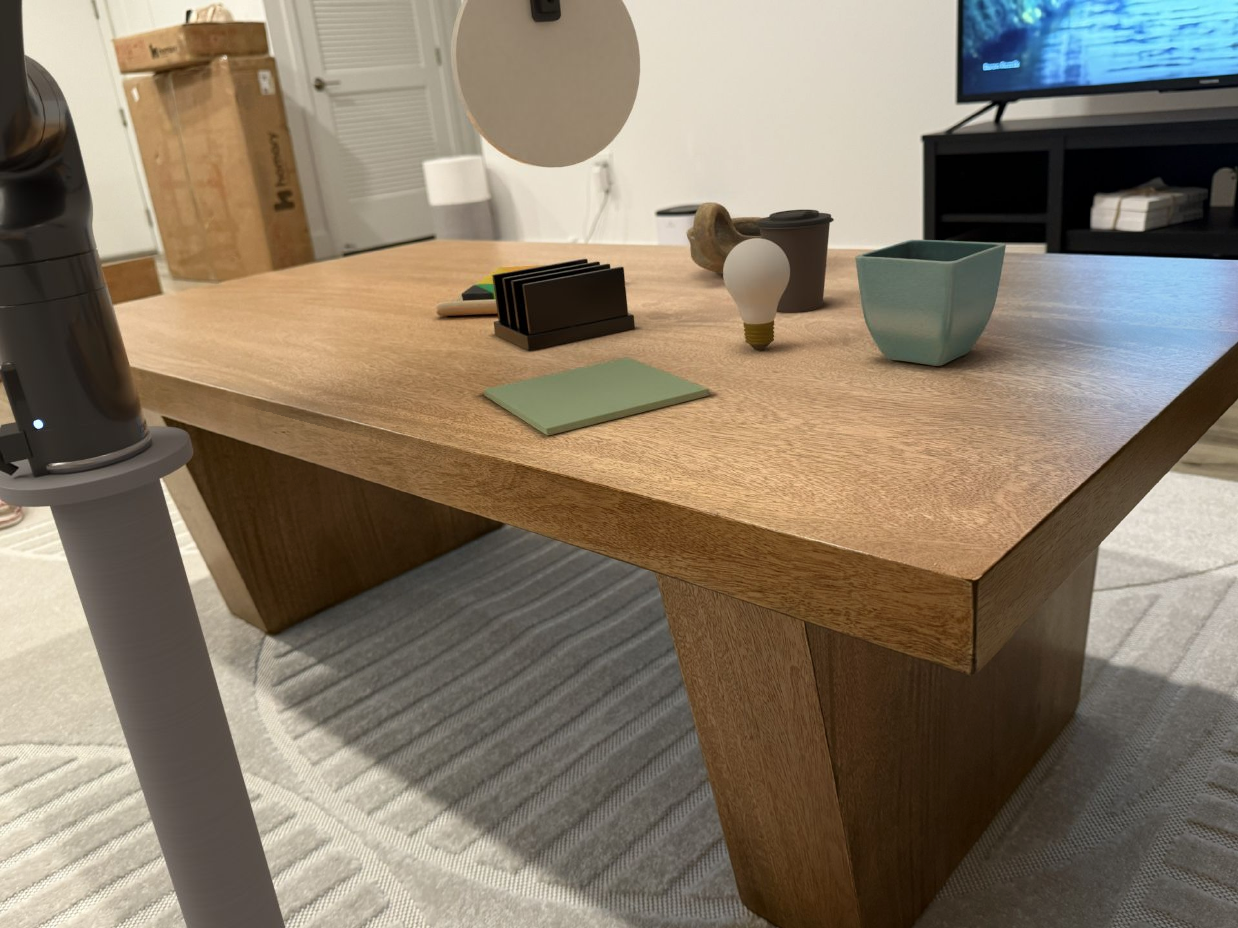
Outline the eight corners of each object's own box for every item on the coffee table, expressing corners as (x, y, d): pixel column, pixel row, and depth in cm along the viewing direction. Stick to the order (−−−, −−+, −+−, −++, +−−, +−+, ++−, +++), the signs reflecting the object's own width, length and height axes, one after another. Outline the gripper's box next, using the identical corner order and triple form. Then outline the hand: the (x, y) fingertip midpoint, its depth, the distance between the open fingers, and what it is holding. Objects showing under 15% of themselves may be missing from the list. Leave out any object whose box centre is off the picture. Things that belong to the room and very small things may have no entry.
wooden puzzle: (433, 320, 118) (428, 291, 116) (493, 288, 134) (489, 262, 133) (571, 315, 113) (567, 284, 111) (616, 282, 129) (613, 255, 128)
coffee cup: (819, 316, 100) (816, 215, 97) (746, 314, 104) (741, 217, 101) (846, 299, 106) (845, 204, 103) (777, 297, 111) (773, 206, 107)
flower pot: (1004, 350, 82) (1009, 241, 79) (951, 377, 76) (953, 261, 73) (909, 340, 88) (910, 238, 85) (853, 364, 82) (852, 256, 79)
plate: (469, 177, 78) (442, -49, 72) (464, 176, 79) (437, -47, 73) (646, 158, 84) (633, -50, 79) (640, 158, 85) (626, -48, 80)
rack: (529, 351, 98) (520, 286, 96) (495, 335, 107) (486, 275, 105) (635, 328, 103) (629, 266, 101) (594, 315, 111) (588, 257, 109)
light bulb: (714, 351, 91) (707, 242, 87) (761, 338, 94) (756, 231, 90) (758, 361, 86) (752, 246, 83) (806, 347, 89) (802, 235, 86)
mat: (547, 436, 73) (546, 428, 72) (484, 395, 85) (483, 389, 84) (709, 395, 78) (708, 388, 78) (628, 363, 90) (627, 356, 90)
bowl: (814, 263, 128) (812, 184, 125) (753, 291, 115) (749, 204, 112) (721, 262, 136) (717, 188, 133) (654, 289, 123) (647, 207, 119)
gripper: (435, -210, 76) (468, 34, 82) (499, -275, 64) (532, 15, 70) (525, -206, 79) (551, 29, 85) (601, -267, 67) (624, 10, 73)
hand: (542, 22), depth 78 cm, fingers closed on plate
